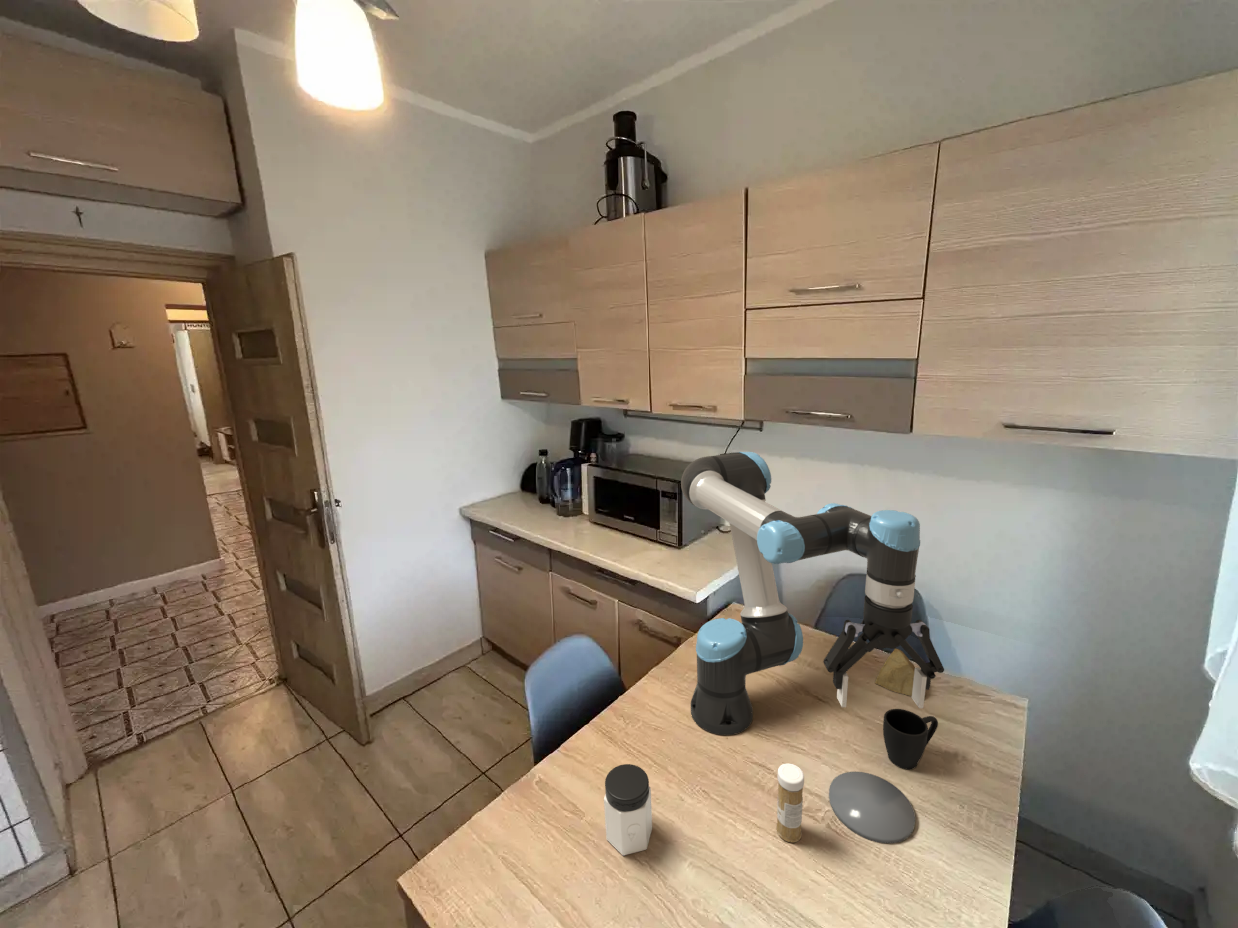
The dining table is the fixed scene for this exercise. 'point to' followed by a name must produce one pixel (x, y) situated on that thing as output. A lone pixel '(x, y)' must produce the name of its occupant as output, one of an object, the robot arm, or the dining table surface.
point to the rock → (897, 674)
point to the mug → (906, 736)
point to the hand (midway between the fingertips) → (879, 702)
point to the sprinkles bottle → (789, 802)
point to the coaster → (871, 807)
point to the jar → (628, 809)
